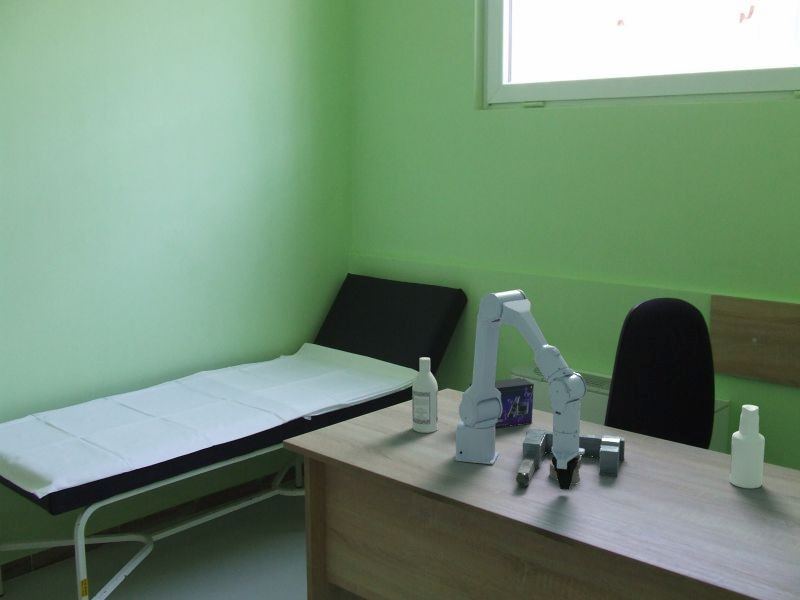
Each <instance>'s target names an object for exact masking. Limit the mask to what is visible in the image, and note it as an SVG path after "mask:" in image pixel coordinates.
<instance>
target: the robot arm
mask: <svg viewBox="0 0 800 600" xmlns="http://www.w3.org/2000/svg"><path fill="white" fill-rule="evenodd" d="M531 306H532V304H531V301H530V300H529V299H528V297H527V295H526V293H525V292H524V291H523V290H522V289H518V288H516V289H512V290H507V291H506V290H505V291H501V292H500V291H498V292H489V293H486V294H484V296H482V297H480V298H479V309H478V313H477V315H476V316H477V317H476V327H475V343H474V355H473V357H474V358H473V367H472V369H473V370H472V371H473V372H472V381H471V382H472V385H471V386H470V385H469V387H468V388H467V389H466V390H465V391H464V392H463V393H462V398H461V402H460V403H459V404H458V405H459V406H458V414H459V418H460V419H461V421H459V422H458V423H457V426H456V433H455V461H457V462H464V463H465V462H466V463H474V464H475V463H476V464H484V465H494V464H495V462H496V460H497V458H498V457H499V454H500V451H496V428H495V423H497V422H498V418H499V417H500V416H501V414H502V403H501V392H500V391H499V390H497V389H496V388H495V381H496V376H497V375H496V373H497V363H498V362H497V360H498V348H499V339H500V338H499V337H500V327H501V326H502V325H507V326H510V327H511V326H513V327H515V328H516V329H517V331H518V332H519V333H520V334H521V336H522V338H524V340H525V341H526V343H527V344H528V346H529V347H530V348H531V349H532V351H533V352H534V357H533V361H534V363H535V365H536V366H537V368H538V369H539V371H540V373H541V374H542V375H543V378H544V380H546V382H547V383H548V384H547V385H548V386H549V387H547V393H548V396H549V399H550V401H551V408H552V410H553V411H552V413H553V414H552V432H553V446H552V453H551V454H553V456H551V464H552V465H553V466H554V468H555V470H556V473H557V478H558V480H557V482H558V488H559V489H560V490H568V491H569V490H570V488H571V485H572V484H571V481H572V476H573V472H574V469H575V467H576V466H577V464H578V460H579V454H584V452H585V449H583V448H579V435H580V434H581V433H580V429H581V428H580V425H581V399H583V398H584V397H585V396H586V394H587V388H588V387H587V384H586V383H587V382H586V381H585V378H584V377H583V376H582V375H581V374H580V373H578V372H576V371H575V370H573V369H571V368H570V366H569V365H568V364H567V362H566V359H564V357H563V356H562V354H561V351H560V349H558V348H557V346H554V345H550V344H548V341H547V339H546V338H545V336H544V334H543V333H542V331H541V329H540V327H539V324H538V323H537V321H536V319H535V318H534V316H533V315H532V312H531V309H532V308H531Z"/></svg>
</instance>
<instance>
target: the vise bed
mask: <svg viewBox="0 0 800 600" xmlns="http://www.w3.org/2000/svg"><path fill="white" fill-rule="evenodd" d="M529 429H530V428H528V429H526V431H525V436H526V435H527V433H528V431H529ZM625 443H626V438H625V437H621V435H620V436H619V435H608V434H603V435H597V434H595V435H593V434H583V433H580V435H579V448H583V449H585V452H584V454H580V455H582V456H581V457H585V456H593V457H592V458H596V457H600V458H599V467H598V468H599V473H598V474H601V475H600V476H607V475H608V476H609V477H618V473H619V466H620V461H624V460H625V449H626V448H625V447H626V446H625V445H626V444H625ZM552 446H553V430H552V431H549V430H546V445H545V452H552Z"/></svg>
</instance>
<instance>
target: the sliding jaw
mask: <svg viewBox="0 0 800 600" xmlns="http://www.w3.org/2000/svg"><path fill="white" fill-rule="evenodd" d="M528 429H529V431H528V433H527V435H526V434H525V437H524V439H523V442H522V462H521V464H520V466H519V469H518V471H517V474H516V477H515V482H516V483H517V485H518V486H520V487H525V486H529V484H530V483H531V482H530V481H531V479H532V477H533V475H534V472H535V469H540V468H541V464H542V462H543V460H544V457H545V455H546V453H545V445H546V431H547V430H546V429H541V428H528Z"/></svg>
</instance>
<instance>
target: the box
mask: <svg viewBox="0 0 800 600" xmlns="http://www.w3.org/2000/svg"><path fill="white" fill-rule="evenodd" d="M471 385H472V383H471V382H470V383H469V387H470V386H471ZM534 385H535V383H533V382H531V381H530V380H529V379H526V378H525V377H515V378H509V379H499V380H495V388H496V389H497V390H499V391H500V392H501V403H502V414H501V416H500V417H499V418H498V422H497V423H495V429H499V427H501V428H505V426H508V427H511V426H510V425H515V426H519V425H518V424H523V425H527V424H526V423H529V424H532V423H533V406H534Z"/></svg>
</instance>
